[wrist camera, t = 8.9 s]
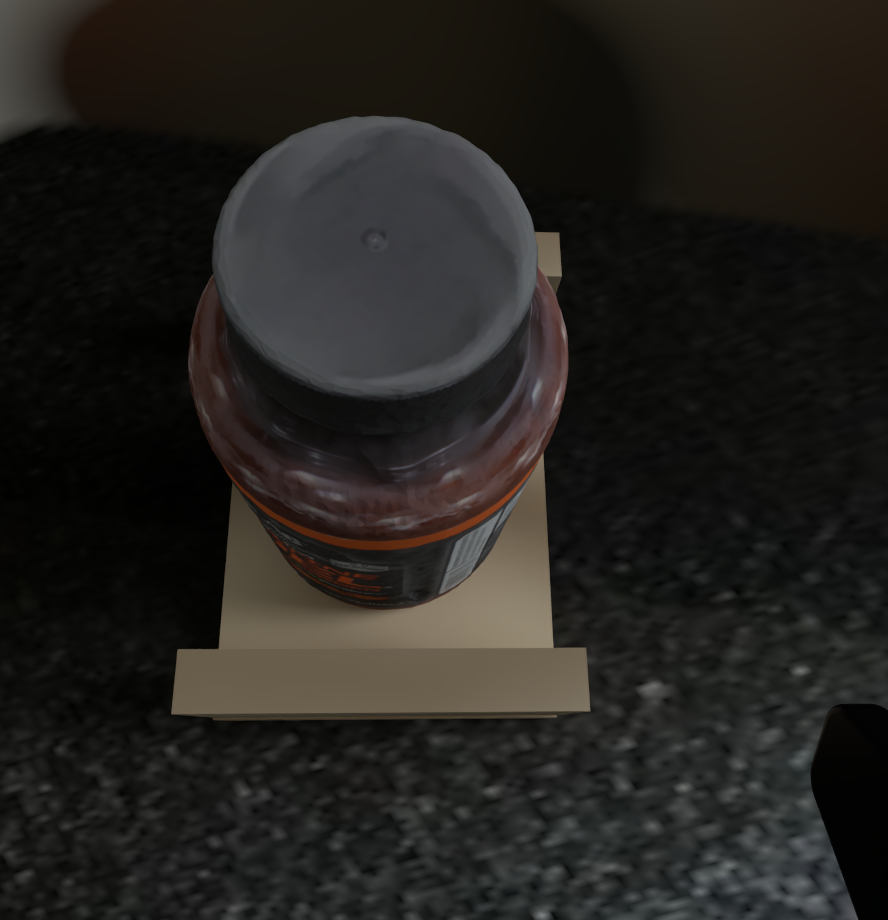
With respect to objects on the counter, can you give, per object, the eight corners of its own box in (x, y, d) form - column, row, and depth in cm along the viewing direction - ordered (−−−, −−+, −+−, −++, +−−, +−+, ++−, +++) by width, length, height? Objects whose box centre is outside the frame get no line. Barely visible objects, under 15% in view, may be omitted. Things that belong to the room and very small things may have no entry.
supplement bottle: (222, 539, 20) (5, 310, 9) (349, 354, 21) (295, -22, 11) (431, 663, 19) (468, 574, 8) (545, 459, 21) (695, 170, 10)
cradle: (549, 717, 20) (590, 713, 15) (222, 720, 19) (170, 716, 15) (530, 323, 23) (558, 231, 19) (254, 318, 23) (220, 222, 19)
